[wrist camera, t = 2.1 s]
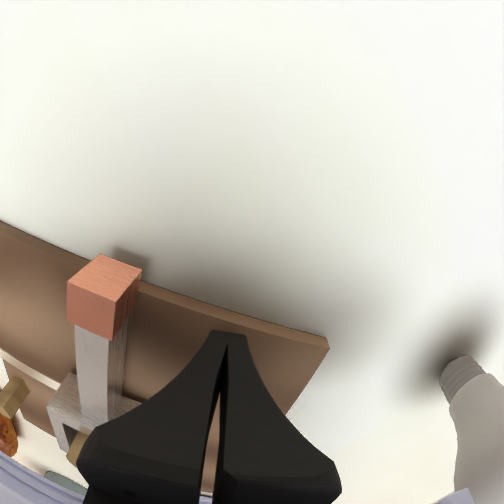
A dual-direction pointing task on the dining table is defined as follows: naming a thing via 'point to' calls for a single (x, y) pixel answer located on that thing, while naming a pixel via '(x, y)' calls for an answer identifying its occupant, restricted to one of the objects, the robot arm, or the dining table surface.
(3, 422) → the croissant
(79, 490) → the embossed teal cup
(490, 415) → the lightbulb
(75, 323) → the square frame with handle
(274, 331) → the socket base
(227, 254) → the dining table surface
